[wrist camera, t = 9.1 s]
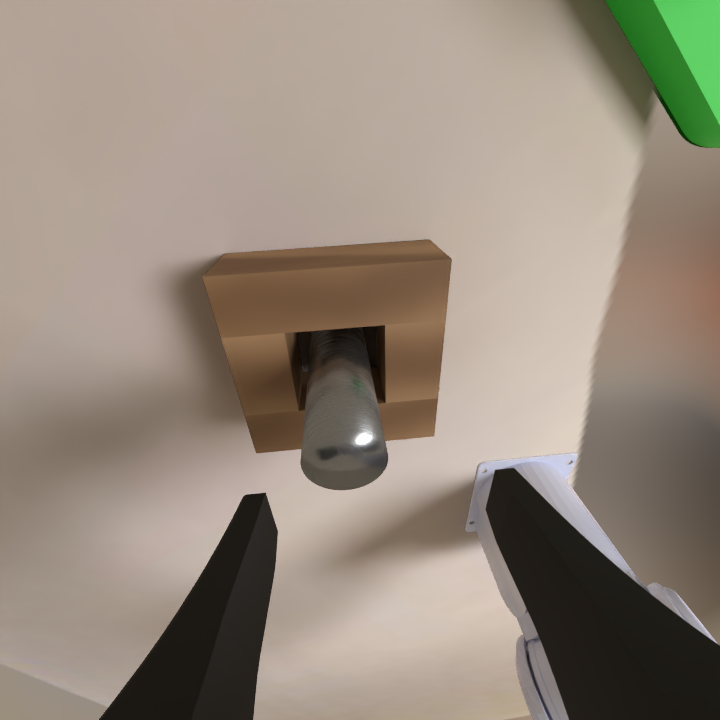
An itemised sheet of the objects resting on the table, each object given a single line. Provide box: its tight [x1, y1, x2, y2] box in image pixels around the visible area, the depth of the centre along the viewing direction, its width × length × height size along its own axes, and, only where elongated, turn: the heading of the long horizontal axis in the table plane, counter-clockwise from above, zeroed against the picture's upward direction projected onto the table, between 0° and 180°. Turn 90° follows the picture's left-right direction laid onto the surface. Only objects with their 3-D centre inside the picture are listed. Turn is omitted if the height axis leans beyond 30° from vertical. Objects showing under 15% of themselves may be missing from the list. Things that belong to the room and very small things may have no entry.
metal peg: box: [301, 327, 388, 490], centre depth 15 cm, size 3×3×9 cm
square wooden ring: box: [202, 240, 452, 453], centre depth 18 cm, size 10×10×4 cm
